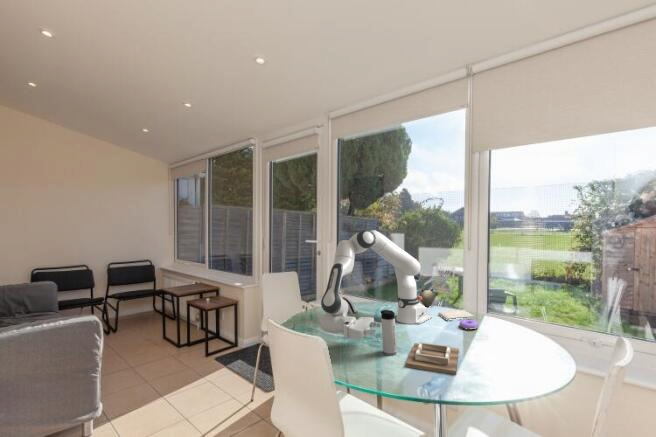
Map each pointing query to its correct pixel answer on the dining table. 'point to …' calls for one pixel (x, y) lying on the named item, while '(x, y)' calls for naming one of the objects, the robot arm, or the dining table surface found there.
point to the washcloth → (455, 314)
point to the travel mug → (388, 332)
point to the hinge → (350, 306)
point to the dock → (433, 358)
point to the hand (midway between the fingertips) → (377, 328)
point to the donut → (468, 324)
